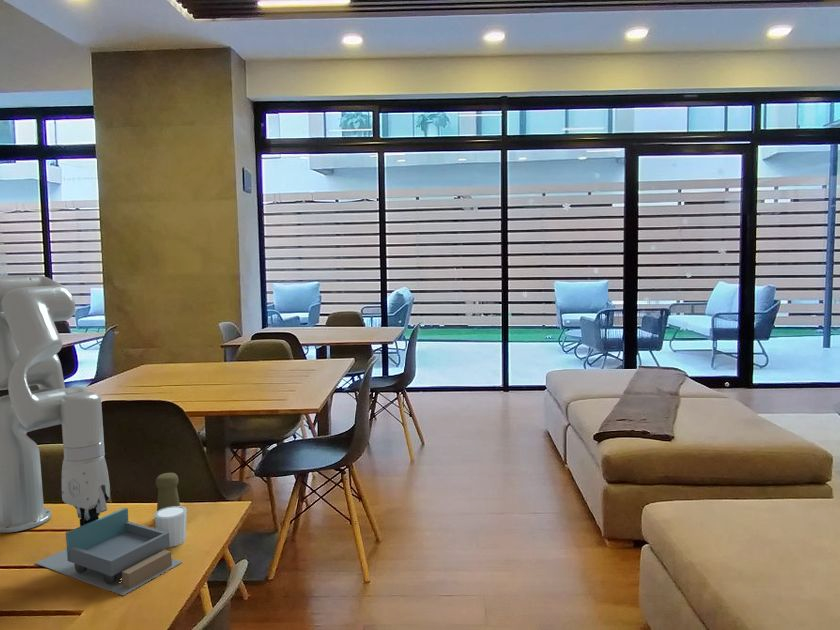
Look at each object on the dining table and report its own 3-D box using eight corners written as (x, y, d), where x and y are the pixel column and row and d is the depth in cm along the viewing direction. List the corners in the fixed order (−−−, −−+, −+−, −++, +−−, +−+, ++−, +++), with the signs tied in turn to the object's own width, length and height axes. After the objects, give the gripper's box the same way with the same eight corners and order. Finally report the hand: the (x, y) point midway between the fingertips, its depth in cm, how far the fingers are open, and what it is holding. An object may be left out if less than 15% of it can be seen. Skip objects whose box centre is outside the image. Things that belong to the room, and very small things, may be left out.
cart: (68, 572, 125) (65, 532, 124) (127, 544, 137) (125, 507, 136) (112, 588, 118) (109, 546, 118) (170, 557, 130) (168, 519, 130)
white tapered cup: (177, 549, 135) (175, 519, 134) (149, 547, 136) (147, 516, 136) (194, 535, 142) (193, 506, 141) (167, 533, 143) (166, 504, 142)
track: (35, 563, 130) (33, 549, 129) (96, 536, 142) (95, 523, 142) (123, 595, 117) (122, 579, 116) (182, 562, 129) (181, 548, 129)
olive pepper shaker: (176, 522, 149) (173, 478, 148) (151, 522, 149) (149, 478, 148) (186, 512, 155) (183, 469, 154) (162, 512, 155) (159, 470, 154)
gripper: (45, 451, 130) (51, 535, 131) (90, 461, 123) (96, 549, 125) (78, 442, 136) (84, 521, 138) (123, 450, 129) (129, 534, 131)
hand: (90, 534), depth 131 cm, fingers closed
